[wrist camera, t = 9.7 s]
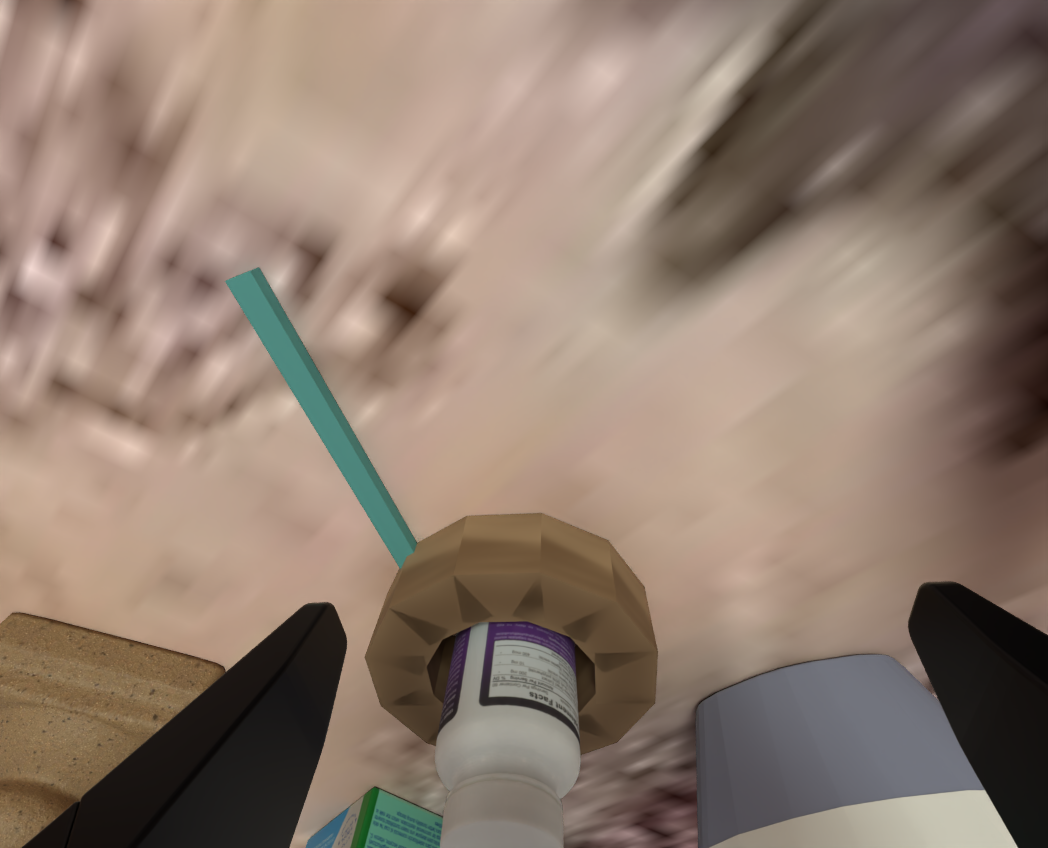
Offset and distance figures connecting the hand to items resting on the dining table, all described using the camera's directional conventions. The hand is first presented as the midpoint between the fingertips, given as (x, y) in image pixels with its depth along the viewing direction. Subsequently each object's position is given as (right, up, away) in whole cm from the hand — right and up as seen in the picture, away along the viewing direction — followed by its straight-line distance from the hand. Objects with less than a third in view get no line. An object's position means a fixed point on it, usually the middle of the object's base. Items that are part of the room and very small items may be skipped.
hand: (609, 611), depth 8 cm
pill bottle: (-2, -6, +17) cm, 18 cm away
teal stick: (-9, +2, +13) cm, 16 cm away
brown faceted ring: (-2, -6, +17) cm, 18 cm away
